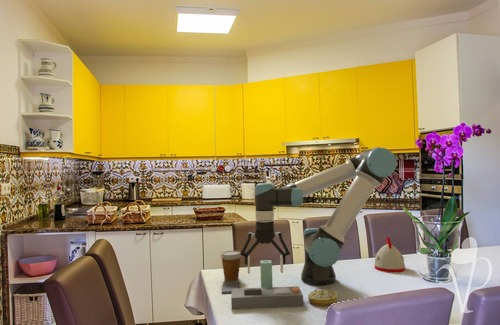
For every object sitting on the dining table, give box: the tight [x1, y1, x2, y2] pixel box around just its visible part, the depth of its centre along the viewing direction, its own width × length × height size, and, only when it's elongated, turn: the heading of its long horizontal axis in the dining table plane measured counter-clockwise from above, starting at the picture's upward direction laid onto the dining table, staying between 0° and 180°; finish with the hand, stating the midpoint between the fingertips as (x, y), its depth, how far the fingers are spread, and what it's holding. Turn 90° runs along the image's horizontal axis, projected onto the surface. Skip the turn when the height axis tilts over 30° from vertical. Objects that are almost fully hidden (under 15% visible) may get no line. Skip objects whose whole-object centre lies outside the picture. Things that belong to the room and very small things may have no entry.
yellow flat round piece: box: [307, 288, 338, 307], centre depth 134 cm, size 10×11×4 cm
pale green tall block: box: [259, 259, 274, 288], centre depth 148 cm, size 4×4×12 cm
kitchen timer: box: [374, 236, 406, 274], centre depth 175 cm, size 14×14×15 cm
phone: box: [221, 281, 240, 295], centre depth 152 cm, size 7×13×1 cm, turn 1°
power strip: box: [230, 285, 304, 310], centre depth 135 cm, size 26×10×5 cm, turn 91°
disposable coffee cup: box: [220, 250, 242, 282], centre depth 165 cm, size 10×10×12 cm
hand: (265, 272), depth 148 cm, fingers open, 13 cm apart
